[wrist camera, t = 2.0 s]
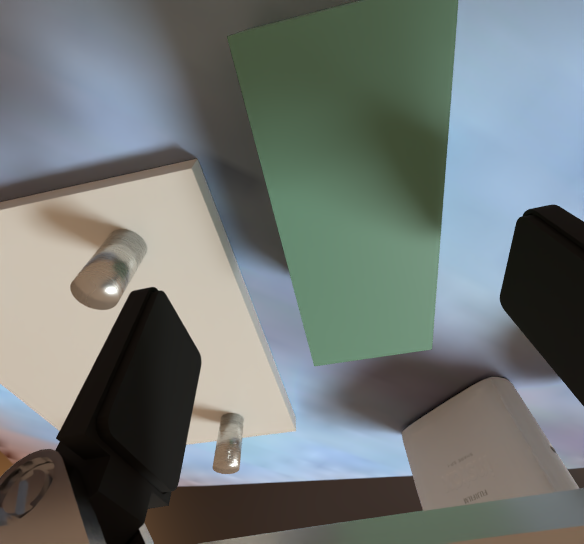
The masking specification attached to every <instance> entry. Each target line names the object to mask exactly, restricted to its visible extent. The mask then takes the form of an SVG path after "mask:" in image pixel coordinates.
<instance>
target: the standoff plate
mask: <svg viewBox="0 0 584 544" xmlns="http://www.w3.org/2000/svg"><path fill="white" fill-rule="evenodd" d="M149 287H155V288H157V289H158V291H160V290H161V291H164V292H165V294H166V295H167V297H168V299H169V300H170V302H171V304H172V306H173V307H174V309H175V311H176V312H177V314H178V316H179V318H180V319H181V321H182V323H183V325H184V326H185V328H186V330H187V332H188V333H189V335H190V337H191V338H192V340H193V342H194V344H195V345H196V347H197V349H198V351H199V352H200V355H201V362H202V363H201V370H200V375H199V380H198V385H197V390H196V395H195V401H194V406H193V411H192V416H191V421H190V427H189V432H188V437H187V442H186V445H187V444H196V443H204V442H212V441H217V444H216V450H215V456H214V463H213V470H214V471H216V472H218V473H222V474H232V473H235V472H237V471H239V467H240V457H241V446H242V438H244V437H252V436H260V435H268V434H276V433H284V432H292V431H296V417H295V414H294V412H293V409H292V406H291V404H290V401H289V398H288V396H287V393H286V390H285V388H284V385H283V383H282V380H281V377H280V375H279V372H278V369H277V367H276V364H275V361H274V359H273V356H272V354H271V351H270V348H269V346H268V343H267V340H266V338H265V335H264V332H263V330H262V327H261V325H260V322H259V319H258V317H257V314H256V311H255V309H254V306H253V304H252V301H251V298H250V296H249V293H248V290H247V288H246V285H245V282H244V280H243V277H242V275H241V272H240V269H239V267H238V264H237V261H236V259H235V256H234V253H233V251H232V248H231V246H230V243H229V240H228V238H227V235H226V232H225V230H224V227H223V224H222V222H221V219H220V217H219V214H218V211H217V209H216V206H215V203H214V201H213V198H212V196H211V193H210V190H209V188H208V185H207V182H206V180H205V177H204V174H203V172H202V169H201V167H200V164H199V161H198V159H193V160H189V161H184V162H180V163H175V164H171V165H166V166H162V167H157V168H153V169H148V170H144V171H139V172H135V173H130V174H126V175H121V176H117V177H112V178H108V179H103V180H98V181H94V182H89V183H85V184H80V185H76V186H71V187H67V188H62V189H58V190H53V191H49V192H44V193H40V194H35V195H31V196H26V197H22V198H17V199H13V200H8V201H3V202H0V384H2V385H3V386H4V387H5V388H7V389H8V390H9V391H10V392H12V393H13V394H14V395H15V396H17V397H18V398H19V399H20V400H22V401H23V402H24V403H25V404H27V405H28V406H29V407H30V408H32V409H33V410H34V411H35V412H37V413H38V414H39V415H40V416H42V417H43V418H44V419H45V420H47V421H48V422H49V423H50V424H52V425H53V426H54V427H55V428H57V429H58V430H59V431H60V430H61V428H62V426H63V424H64V422H65V420H66V418H67V416H68V414H69V412H70V410H71V408H72V406H73V404H74V402H75V400H76V398H77V396H78V394H79V392H80V390H81V388H82V386H83V384H84V382H85V380H86V378H87V376H88V375H89V373H90V371H91V369H92V367H93V365H94V363H95V361H96V359H97V357H98V355H99V353H100V351H101V349H102V347H103V345H104V343H105V341H106V339H107V337H108V335H109V333H110V331H111V329H112V327H113V325H114V323H115V321H116V320H117V318H118V316H119V314H120V312H121V310H122V308H123V306H124V304H125V302H126V300H127V298H128V296H129V294H130V293H131V292H132V291H134V290H139V289H144V288H149Z"/></svg>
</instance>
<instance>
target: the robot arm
mask: <svg viewBox="0 0 584 544" xmlns="http://www.w3.org/2000/svg"><path fill="white" fill-rule="evenodd" d="M500 302H501V305H502V307H503V309H504V310H505V312H506V313H507V314H508V315H509V316H510V318H511V319H512V320H513V321H514V322H515V324H516V325H517V326H518V327H519V328H520V330H521V331H522V332H523V333H524V335H525V336H526V337H527V338H528V339H529V341H530V342H531V343H532V344H533V345H534V347H535V348H536V349H537V350H538V351H539V353H540V354H541V355H542V356H543V358H544V359H545V360H546V361H547V362H548V364H549V365H550V366H551V367H552V368H553V370H554V371H555V372H556V373H557V375H558V376H559V377H560V378H561V379H562V381H563V382H564V383H565V384H566V385H567V387H568V388H569V389H570V390H571V391H572V393H573V394H574V395H575V396H576V398H577V399H578V400H579V401H580V402H581V404H582V405H583V406H584V222H583V221H582V220H580V219H579V218H577V217H575V216H574V215H572V214H571V213H569V212H567V211H566V210H564V209H563V208H561V207H559V206H557V205H548V206H543V207H538V208H533V209H529V210H527V211H525V213H524V214H523V216H522V217H520V218H519V219H518V220H517V222H516V226H515V231H514V235H513V240H512V244H511V249H510V253H509V258H508V262H507V267H506V271H505V275H504V280H503V284H502V289H501V293H500ZM201 363H202V362H201V355H200V352H199V351H198V349H197V347H196V345H195V344H194V342H193V340H192V338H191V337H190V335H189V333H188V332H187V330H186V328H185V326H184V325H183V323H182V321H181V319H180V318H179V316H178V314H177V312H176V311H175V309H174V307H173V306H172V304H171V302H170V300H169V299H168V297H167V295H166V294H165V292H164V291H161V290H160V291H158V289H157V288H155V287H149V288H144V289H139V290H134V291H132V292H131V293H130V294H129V296H128V298H127V300H126V302H125V304H124V306H123V308H122V310H121V312H120V314H119V316H118V318H117V320H116V321H115V323H114V325H113V327H112V329H111V331H110V333H109V335H108V337H107V339H106V341H105V343H104V345H103V347H102V349H101V351H100V353H99V355H98V357H97V359H96V361H95V363H94V365H93V367H92V369H91V371H90V373H89V375H88V376H87V378H86V380H85V382H84V384H83V386H82V388H81V390H80V392H79V394H78V396H77V398H76V400H75V402H74V404H73V406H72V408H71V410H70V412H69V414H68V416H67V418H66V420H65V422H64V424H63V426H62V428H61V430H60V431H59V433H58V435H57V437H56V439H58V440H59V441H60V442H59V444H58V446H57V448H56V450H52V449H44V450H39V451H36V452H34V453H31V454H29V455H27V456H26V457H24V458H22V459H21V460H19V461H17V462H16V463H15V464H14V465H13V466H11V467H10V468H9V469H8V470H7V471H6V472H5V473H4V474H3V475H2V476H1V477H0V544H154V543H153V541H152V539H151V536H150V534H149V532H148V530H147V528H146V526H145V524H144V521H145V517H146V513H147V509H150V508H155V507H163V506H169V501H170V496H171V491H174V490H175V489H176V488H177V486H178V483H179V478H180V473H181V468H182V463H183V458H184V452H185V447H186V442H187V437H188V432H189V427H190V421H191V416H192V411H193V406H194V401H195V395H196V390H197V385H198V380H199V375H200V370H201ZM200 544H584V488H583V489H575V490H568V491H560V492H553V493H546V494H539V495H531V496H524V497H517V498H510V499H503V500H496V501H489V502H482V503H475V504H468V505H461V506H454V507H447V508H440V509H432V510H425V511H419V512H411V513H405V514H398V515H391V516H384V517H377V518H370V519H363V520H357V521H349V522H342V523H335V524H328V525H321V526H315V527H308V528H301V529H294V530H288V531H281V532H274V533H267V534H261V535H254V536H247V537H241V538H233V539H227V540H220V541H214V542H206V543H200Z"/></svg>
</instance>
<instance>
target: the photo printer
mask: <svg viewBox="0 0 584 544" xmlns="http://www.w3.org/2000/svg"><path fill="white" fill-rule="evenodd" d="M402 438H403V443H404V446H405V450H406V453H407V457H408V461H409V464H410V468H411V471H412V474H413V478H414V481H415V485H416V488H417V491H418V495H419V498H420V502H421V505H422V508H423V511H425V510H432V509H440V508H447V507H454V506H461V505H468V504H475V503H482V502H489V501H496V500H503V499H510V498H517V497H524V496H531V495H539V494H546V493H553V492H560V491H568V490H575V489H579V487H578V486H577V484H576V483H575V481H574V479H573V478H572V476H571V475H570V473H569V472H568V470H567V468H566V467H565V465H564V464H563V462H562V461H561V459H560V457H559V456H558V454H557V453H556V451H555V450H554V448H553V447H552V445H551V443H550V442H549V440H548V439H547V437H546V436H545V434H544V433H543V431H542V430H541V428H540V426H539V425H538V423H537V422H536V420H535V418H534V417H533V415H532V414H531V412H530V411H529V409H528V408H527V406H526V404H525V403H524V401H523V400H522V398H521V397H520V395H519V393H518V392H517V390H516V389H515V387H514V386H513V384H512V383H511V382H510V381H508V380H507V379H504V378H500V377H489V378H487V379H484V380H482V381H480V382H478V383H476V384H474V385H472V386H471V387H469V388H467V389H466V390H464V391H462V392H461V393H459V394H458V395H456V396H454V397H453V398H451V399H449V400H448V401H446V402H445V403H443V404H441V405H440V406H438V407H437V408H435V409H434V410H432V411H431V412H429V413H427V414H426V415H424V416H423V417H421V418H420V419H418V420H417V421H415V422H414V423H413V424H411V425H410V426H408V427H407V428H406V429H405V430H404V431H403V432H402Z"/></svg>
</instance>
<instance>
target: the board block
mask: <svg viewBox="0 0 584 544" xmlns="http://www.w3.org/2000/svg"><path fill="white" fill-rule="evenodd" d="M457 11H458V0H359V1H355V2H351V3H347V4H343V5H339V6H336V7H332V8H328V9H324V10H320V11H316V12H312V13H308V14H305V15H301V16H297V17H293V18H289V19H285V20H281V21H277V22H274V23H270V24H266V25H262V26H258V27H254V28H250V29H247V30H244V31H241V32H238V33H236V34H233V35H230V36H227V39H228V43H229V46H230V50H231V54H232V58H233V61H234V65H235V69H236V73H237V77H238V80H239V84H240V88H241V92H242V95H243V99H244V103H245V107H246V111H247V114H248V118H249V122H250V126H251V129H252V133H253V137H254V141H255V144H256V148H257V152H258V156H259V160H260V163H261V167H262V171H263V175H264V178H265V182H266V186H267V190H268V194H269V197H270V201H271V205H272V209H273V212H274V216H275V220H276V224H277V227H278V231H279V235H280V239H281V243H282V246H283V250H284V254H285V258H286V261H287V265H288V269H289V273H290V276H291V280H292V284H293V288H294V292H295V295H296V299H297V303H298V307H299V310H300V314H301V318H302V322H303V326H304V329H305V333H306V337H307V341H308V344H309V348H310V352H311V356H312V359H313V363H314V366H320V365H327V364H334V363H341V362H348V361H355V360H362V359H369V358H376V357H383V356H390V355H397V354H404V353H411V352H418V351H425V350H432V342H433V329H434V315H435V302H436V289H437V276H438V263H439V249H440V236H441V223H442V210H443V196H444V183H445V170H446V157H447V144H448V130H449V117H450V104H451V91H452V77H453V64H454V51H455V38H456V25H457Z"/></svg>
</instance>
